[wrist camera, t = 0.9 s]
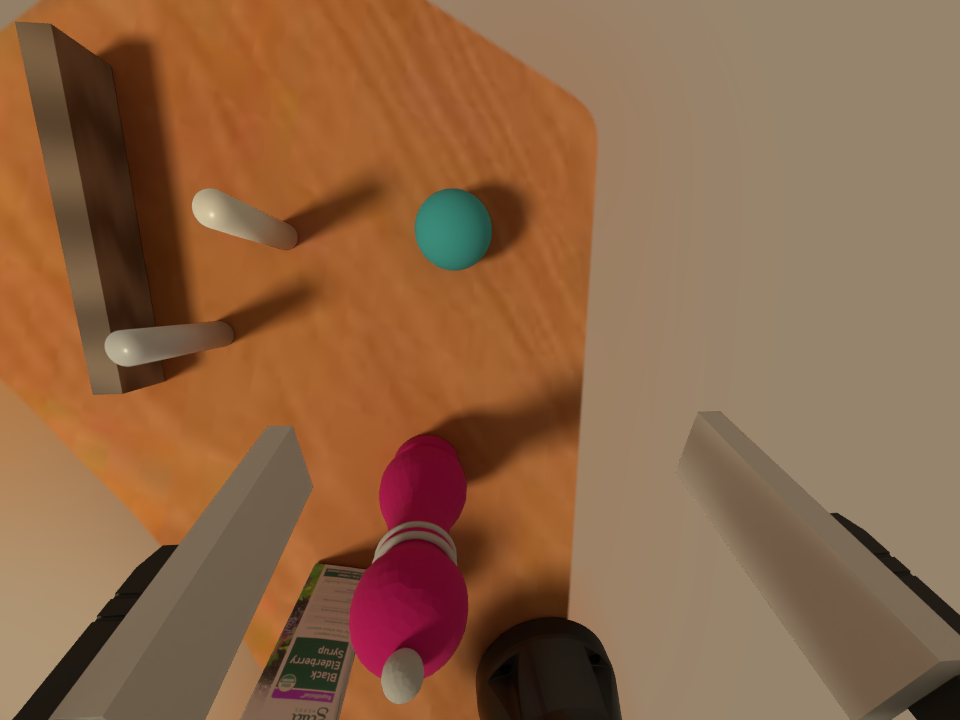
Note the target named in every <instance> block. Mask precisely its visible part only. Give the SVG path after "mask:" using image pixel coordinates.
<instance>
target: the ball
mask: <svg viewBox="0 0 960 720" xmlns="http://www.w3.org/2000/svg"><path fill="white" fill-rule="evenodd" d="M415 236H416V240H417V243H418V246H419V248H420V250H421V252H422V253H423V255H424V256H425V257H426V258H427V259H428V260H429V261H430V262H431V263H433V264H434V265H436V266H438V267H440V268H443V269H446V270H454V271H455V270H463V269H466V268H469V267H471V266H473V265H474V264H476V263H477V262H478V261H479V260H480V259H481V258H482V257H483V256H484V255H485V253H486V251H487V249H488V247H489V245H490V241H491V237H492V225H491V220H490V217H489V214H488V212H487V209H486V208H485V206H484V205H483V204H482V202H481V201H480V200H479V199H478V198H477V197H475V196H474V195H473V194H471V193H469V192H467V191H464V190H461V189H453V188H452V189H444V190H441V191H438V192H436V193H434V194H432V195H431V196H430V197H429V198H427V199H426V200H425V202H424V203H423V204H422V206H421V207H420V209H419V211H418V214H417V217H416V221H415Z"/></svg>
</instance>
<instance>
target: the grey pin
mask: <svg viewBox="0 0 960 720" xmlns="http://www.w3.org/2000/svg"><path fill="white" fill-rule="evenodd" d="M233 339H234V331H233V329H232V327H231V326H230V325H229V324H227V323H225V322H223V321H213V322H202V323H192V324H181V325H171V326H160V327H150V328H139V329H129V330H118V331H115V332H113V333H111V334H110V335H109V336H108V337H107V338H106V341H105V351H106V354H107V355H108V357H109V358H110V359H111V360H112V361H113V362H115V363H116V364H118V365H121V366H128V367H129V366H135V365H139V364H144V363H149V362H154V361H158V360H163V359H168V358H172V357H177V356H182V355H186V354H191V353H196V352H201V351H205V350H210V349H215V348H219V347H224V346H227V345H229V344H230V343H231V342H232V341H233Z"/></svg>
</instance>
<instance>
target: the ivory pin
mask: <svg viewBox="0 0 960 720" xmlns="http://www.w3.org/2000/svg"><path fill="white" fill-rule="evenodd" d="M192 209H193V213H194V215H195V217H196V219H197V220H198V221H199V222H200V223H201V224H202V225H204V226H206V227H208V228H211V229H215V230H218V231H221V232H225V233H228V234H231V235H235V236H238V237H241V238H244V239H248V240H251V241H254V242H258V243H261V244H264V245H268V246H271V247H274V248H278V249H281V250H290V249H292V248H293V247H295V245H296V244H297V241H298V235H297V232H296V230H295V229H294V227H293V226H291V225H290V224H288V223H286V222H283V221H281V220H279V219H277V218H275V217H273V216H271V215H269V214H267V213H265V212H263V211H261V210H258V209H256V208H254V207H252V206H250V205H248V204H246V203H244V202H242V201H240V200H238V199H236V198H234V197H231V196H229V195H227V194H225V193H223V192H221V191H219V190H216V189H211V188H207V189H203V190H201V191H199V192H198V193H197V194H196V195H195V197H194V199H193V202H192Z"/></svg>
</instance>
